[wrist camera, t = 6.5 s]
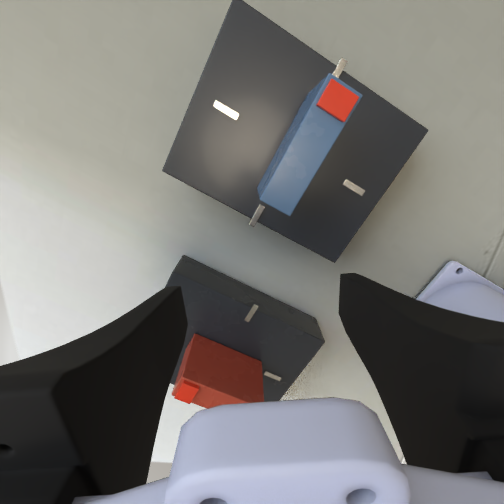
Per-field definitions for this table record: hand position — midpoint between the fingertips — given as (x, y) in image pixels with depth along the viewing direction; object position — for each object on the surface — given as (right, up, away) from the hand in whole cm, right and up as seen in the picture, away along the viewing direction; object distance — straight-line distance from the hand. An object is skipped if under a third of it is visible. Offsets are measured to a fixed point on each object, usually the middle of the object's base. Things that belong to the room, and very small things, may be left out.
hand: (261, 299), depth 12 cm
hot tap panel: (-2, -4, +11) cm, 12 cm away
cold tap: (+2, +8, +3) cm, 8 cm away
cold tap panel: (+2, +9, +6) cm, 11 cm away
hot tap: (-2, -5, +8) cm, 10 cm away
